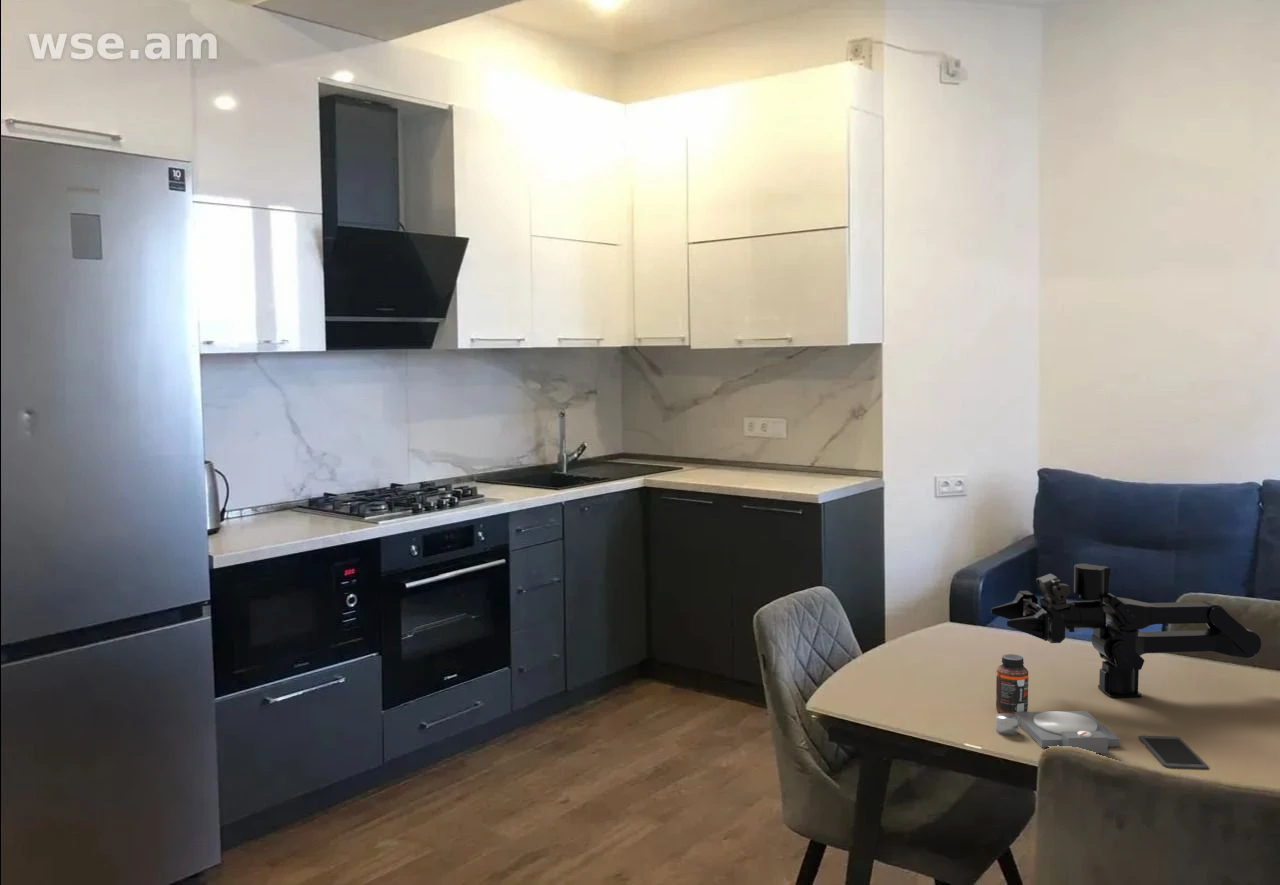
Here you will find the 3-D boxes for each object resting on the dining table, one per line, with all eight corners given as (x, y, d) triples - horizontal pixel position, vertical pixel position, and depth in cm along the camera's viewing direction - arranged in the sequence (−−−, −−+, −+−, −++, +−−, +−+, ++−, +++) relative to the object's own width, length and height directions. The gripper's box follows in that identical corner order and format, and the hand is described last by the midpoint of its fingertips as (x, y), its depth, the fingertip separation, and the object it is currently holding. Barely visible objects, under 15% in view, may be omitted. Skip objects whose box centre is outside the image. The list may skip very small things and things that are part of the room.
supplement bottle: (1030, 718, 200) (1031, 662, 199) (998, 716, 202) (999, 660, 200) (1025, 707, 206) (1026, 652, 205) (994, 706, 207) (994, 651, 206)
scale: (1086, 718, 200) (1086, 701, 200) (1127, 753, 183) (1127, 735, 183) (1014, 719, 200) (1014, 703, 200) (1048, 754, 183) (1048, 736, 183)
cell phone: (1178, 740, 189) (1179, 736, 189) (1210, 771, 176) (1210, 767, 176) (1136, 738, 190) (1136, 734, 190) (1164, 770, 177) (1164, 765, 176)
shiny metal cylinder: (1013, 728, 196) (1013, 712, 196) (1021, 736, 192) (1021, 720, 192) (992, 728, 196) (992, 713, 196) (1000, 736, 192) (1000, 720, 192)
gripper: (1056, 566, 221) (984, 568, 221) (1095, 587, 202) (1015, 589, 202) (1056, 617, 222) (983, 619, 222) (1094, 643, 203) (1015, 645, 203)
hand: (998, 616), depth 212 cm, fingers open, 9 cm apart
